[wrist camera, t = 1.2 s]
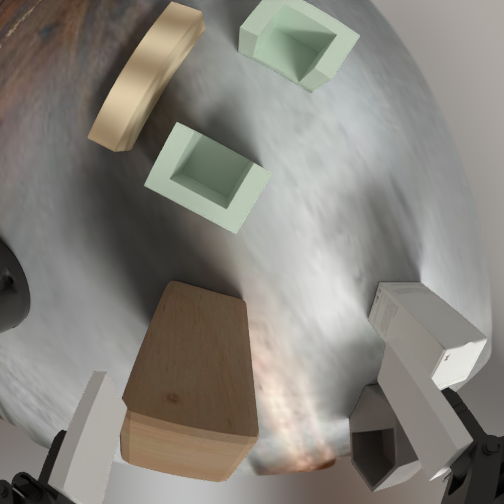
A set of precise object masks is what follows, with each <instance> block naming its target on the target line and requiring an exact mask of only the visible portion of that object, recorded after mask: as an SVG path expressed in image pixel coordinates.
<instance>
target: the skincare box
mask: <svg viewBox="0 0 504 504" xmlns="http://www.w3.org/2000/svg"><path fill="white" fill-rule="evenodd" d="M368 321H369V323H370V324H371V325H372V327H373V328H374V329H375V331H376V332H377V333H378V334H379V336H380V337H381V338H382V340H383V341H384V342H385V344H386V341H387V340H390V339H394V338H398V337H401V339H402V340H403V341H404V343H405V344H406V345H407V346H408V348H409V349H410V350H411V352H412V353H413V354H414V356H415V357H416V358H417V360H418V361H419V362H420V364H421V365H422V366H423V368H424V369H425V370H426V372H427V373H428V374H429V376H430V377H431V379H432V380H433V381H434V383H435V384H436V386H437V387H438V388H443V387H446V386H449V385H452V384H454V383H457V382H460V381H463V380H466V378H467V377H468V375H469V373H470V371H471V370H472V368H473V366H474V364H475V362H476V360H477V358H478V356H479V354H480V353H481V351H482V349H483V347H484V345H485V343H486V341H487V337H486V336H485V335H484V334H483V333H482V332H481V331H479V330H478V329H477V328H476V327H475V326H474V325H473V324H471V323H470V322H469V321H468V320H467V319H466V318H464V317H463V316H462V315H461V314H460V313H458V312H457V311H456V310H455V309H454V308H452V307H451V306H450V305H449V304H448V303H446V302H445V301H444V300H443V299H441V298H440V297H439V296H438V295H436V294H435V293H434V292H433V291H431V290H430V289H429V288H428V287H426V286H425V285H424V284H423V283H421V282H379V285H378V288H377V292H376V295H375V299H374V302H373V305H372V309H371V312H370V315H369V319H368Z"/></svg>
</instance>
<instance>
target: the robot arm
mask: <svg viewBox="0 0 504 504" xmlns="http://www.w3.org/2000/svg"><path fill="white" fill-rule="evenodd" d="M29 310H30V293H29V288H28V284H27V281H26V278H25V275H24V273H23V271H22V269H21V267H20V265H19V263H18V261H17V260H16V258H15V256H14V255H13V254H12V252H11V251H10V250H9V249H8V248H7V247H6V246H5V245H4V244H3V243H2V242H0V333H2V332H4V331H7V330H9V329H11V328H14V327H16V326H18V325H19V324H20V323H21V322H22V321H23V320H24V319H25V318H26V317H27V315H28V313H29ZM377 381H378V383H379V385H380V386H381V388H382V390H383V392H384V394H385V395H386V397H387V399H388V401H389V403H390V405H391V407H392V408H393V410H394V412H395V414H396V416H397V418H398V420H399V422H400V423H401V425H402V427H403V429H404V431H405V433H406V435H407V437H408V439H409V441H410V443H411V445H412V447H413V449H414V451H415V453H416V455H417V457H418V459H419V461H420V463H421V465H422V467H423V469H424V471H425V473H426V475H427V477H428V479H429V481H430V480H432V479H434V478H436V477H438V476H440V475H441V474H443V473H445V472H446V470H447V469H448V468H449V467H450V468H451V470H452V471H451V472H450V473H449V474H448V475H447V476H446V477H445V478H444V480H443V482H446V481H447V480H448V479H449V480H448V483H447V487H446V490H445V493H444V496H443V499H442V502H441V504H504V436H502V437H497V436H493V435H487V434H486V433H485V432H484V431H483V429H482V428H481V426H480V425H479V424H478V422H477V420H476V419H475V417H474V416H473V415H472V413H471V412H470V410H468V408H467V406H466V405H465V403H463V401H462V399H461V398H460V397H459V395H458V394H457V393H456V392H455V391H453V390H452V389H450V388H449V387H448V388H446V389H443V390H441V391H440V390H439V388H438V387H437V386H436V384H435V383H434V381H433V380H432V379H431V377H430V376H429V374H428V373H427V372H426V370H425V369H424V368H423V366H422V365H421V364H420V362H419V361H418V360H417V358H416V357H415V356H414V354H413V353H412V352H411V350H410V349H409V348H408V346H407V345H406V344H405V343H404V341H403V340H402V339H401V337H398V338H394V339H390V340H387V341H386V346H385V350H384V354H383V359H382V363H381V367H380V371H379V375H378V379H377ZM126 411H127V407H126V405H125V403H124V402H123V400H122V398H121V396H120V395H119V393H118V391H117V390H116V388H115V386H114V384H113V382H112V381H111V379H110V377H109V375H108V373H107V372H98V371H94V372H93V374H92V377H91V379H90V381H89V383H88V385H87V387H86V389H85V391H84V394H83V396H82V398H81V400H80V402H79V405H78V407H77V409H76V411H75V414H74V416H73V418H72V421H71V423H70V425H69V428H68V430H67V431H64V430H61V431H60V432H59V433H58V434H57V435H56V436H55V438H54V440H53V443H52V445H51V448H50V450H49V452H48V454H49V455H47V458H46V460H45V463H44V465H43V468H42V471H41V474H40V476H39V479H38V481H37V480H36V479H34V478H33V477H32V476H31V475H29V474H28V473H25V472H19V473H18V474H16V475H15V476H14V478H13V480H12V483H11V484H12V485H11V484H9V483H8V482H7V481H6V480H0V504H103V500H104V495H105V491H106V486H107V482H108V477H109V473H110V469H111V465H112V461H113V457H114V454H115V450H116V446H117V442H118V439H119V435H120V432H121V428H122V425H123V421H124V418H125V414H126Z"/></svg>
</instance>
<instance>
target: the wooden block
mask: <svg viewBox="0 0 504 504" xmlns="http://www.w3.org/2000/svg"><path fill="white" fill-rule="evenodd" d="M122 400H123V402H124V403H125V405H126V407H127V411H126V414H125V418H124V421H123V425H122V428H121V432H120V450H121V456H122V459H123V460H124V461H126V462H128V463H129V464H132V465H136V466H139V467H143V468H147V469H151V470H155V471H159V472H163V473H168V474H172V475H178V476H182V477H188V478H194V479H201V480H207V481H215V482H221V481H226V480H227V479H228V478H229V477H230V475H231V474H232V473H233V472H234V471H235V469H236V468H237V467H238V466H239V464H240V463H241V462H242V460H243V459H244V458H245V457H246V455H247V454H248V453H249V451H250V450H251V449H252V447H253V446H254V445H255V443H256V442H257V439H258V437H259V428H258V418H257V409H256V399H255V389H254V380H253V370H252V360H251V349H250V339H249V329H248V318H247V307H246V302H245V301H243V300H242V299H240V298H236V297H232V296H228V295H225V294H221V293H217V292H214V291H210V290H207V289H203V288H199V287H196V286H192V285H189V284H186V283H182V282H179V281H170V282H169V283H168V284H167V285H166V287H165V289H164V292H163V294H162V296H161V299H160V301H159V303H158V306H157V308H156V311H155V313H154V315H153V318H152V320H151V323H150V325H149V327H148V330H147V332H146V335H145V337H144V340H143V343H142V345H141V348H140V350H139V353H138V355H137V358H136V361H135V363H134V366H133V369H132V371H131V374H130V377H129V380H128V382H127V385H126V388H125V391H124V394H123V396H122Z"/></svg>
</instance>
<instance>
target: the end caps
mask: <svg viewBox="0 0 504 504" xmlns="http://www.w3.org/2000/svg"><path fill="white" fill-rule="evenodd" d="M359 37H360V35H358V34H357V33H355V32H354V31H352V30H351V29H350V28H348V27H347V26H345V25H344V24H342V23H341V22H339V21H337V20H336V19H334V18H333V17H331V16H329V15H328V14H326V13H325V12H323V11H321V10H319V9H318V8H316V7H314V6H312V5H311V4H309V3H307V2H305V1H303V0H262V1H261V2H260V3H259V5H258V6H257V7H256V8H255V9H254V11H253V12H252V13H251V14H250V15H249V17H248V18H247V19H246V20H245V22H244V23H243V24H242V25H241V27H240V33H239V47H238V53H241V54H243V55H245V56H247V57H249V58H251V59H253V60H254V61H256V62H258V63H260V64H262V65H264V66H266V67H268V68H269V69H271V70H273V71H275V72H277V73H278V74H280V75H282V76H284V77H285V78H287V79H289V80H290V81H292V82H294V83H295V84H297V85H299V86H300V87H302V88H303V89H305V90H307V91H308V92H310V93H311V92H313V91H314V90H316V89H317V88H319V87H320V86H322V85H324V84H325V83H327V82H328V81H330V80H331V79H332V78H333V76H334V75H335V73H336V72H337V70H338V69H339V67H340V66H341V64H342V63H343V61H344V59H345V58H346V56H347V55H348V53H349V52H350V50H351V49H352V47H353V46H354V44H355V43H356V41H357V40H358V38H359ZM271 175H272V173H271V172H269V171H267V170H266V169H264V168H263V167H261V166H259V165H257V164H256V163H254V162H252V161H250V160H249V159H247V158H245V157H243V156H242V155H240V154H238V153H236V152H234V151H233V150H231V149H229V148H227V147H225V146H223V145H221V144H220V143H218V142H216V141H214V140H212V139H210V138H208V137H206V136H204V135H203V134H201V133H199V132H197V131H195V130H193V129H191V128H189V127H187V126H185V125H182V124H180V123H178V122H177V123H176V124H175V126H174V128H173V130H172V132H171V133H170V135H169V137H168V139H167V141H166V143H165V144H164V146H163V148H162V150H161V152H160V154H159V156H158V158H157V160H156V162H155V164H154V166H153V168H152V170H151V172H150V174H149V176H148V178H147V180H146V182H145V185H144V186H146V187H148V188H150V189H151V190H153V191H155V192H157V193H159V194H161V195H163V196H165V197H167V198H169V199H170V200H172V201H174V202H176V203H178V204H180V205H182V206H184V207H186V208H187V209H189V210H191V211H193V212H195V213H197V214H199V215H201V216H203V217H204V218H206V219H208V220H210V221H212V222H214V223H216V224H218V225H220V226H221V227H223V228H225V229H227V230H229V231H231V232H233V233H235V234H237V232H238V230H239V229H240V227H241V225H242V224H243V222H244V220H245V219H246V217H247V215H248V214H249V212H250V210H251V209H252V207H253V205H254V204H255V202H256V200H257V199H258V197H259V195H260V194H261V192H262V190H263V189H264V187H265V185H266V184H267V182H268V180H269V179H270V177H271Z"/></svg>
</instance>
